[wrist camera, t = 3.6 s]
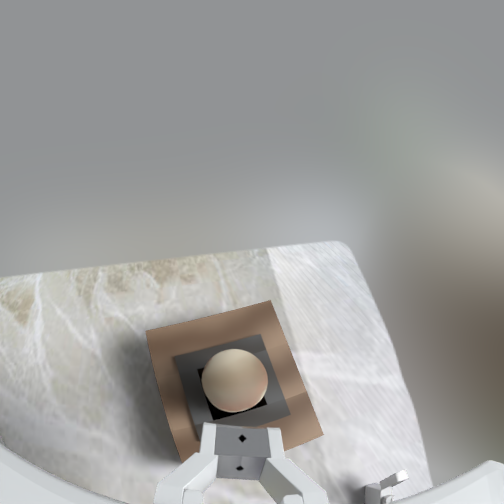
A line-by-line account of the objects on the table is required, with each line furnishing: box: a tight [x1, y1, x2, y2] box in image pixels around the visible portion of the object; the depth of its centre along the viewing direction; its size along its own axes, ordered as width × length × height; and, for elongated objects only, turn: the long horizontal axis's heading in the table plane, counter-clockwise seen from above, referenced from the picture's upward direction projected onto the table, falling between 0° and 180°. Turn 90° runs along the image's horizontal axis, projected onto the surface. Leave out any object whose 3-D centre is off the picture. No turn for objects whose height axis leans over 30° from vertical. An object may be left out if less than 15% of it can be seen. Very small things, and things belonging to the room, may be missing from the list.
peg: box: [202, 349, 268, 413], centre depth 23 cm, size 5×5×8 cm
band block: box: [146, 300, 324, 463], centre depth 28 cm, size 16×14×9 cm
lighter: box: [365, 470, 408, 504], centre depth 22 cm, size 7×2×8 cm, turn 0°
